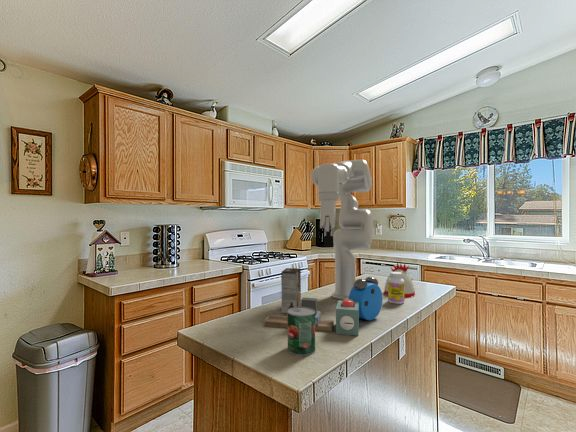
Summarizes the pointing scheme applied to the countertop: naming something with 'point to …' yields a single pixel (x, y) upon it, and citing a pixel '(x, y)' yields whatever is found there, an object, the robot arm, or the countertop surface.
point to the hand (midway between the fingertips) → (328, 246)
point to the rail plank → (283, 322)
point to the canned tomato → (301, 331)
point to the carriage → (312, 304)
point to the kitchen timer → (408, 282)
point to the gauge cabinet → (347, 319)
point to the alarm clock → (367, 297)
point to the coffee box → (291, 288)
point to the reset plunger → (347, 303)
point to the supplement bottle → (396, 288)
